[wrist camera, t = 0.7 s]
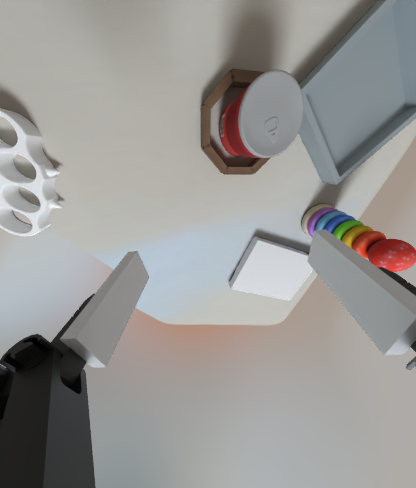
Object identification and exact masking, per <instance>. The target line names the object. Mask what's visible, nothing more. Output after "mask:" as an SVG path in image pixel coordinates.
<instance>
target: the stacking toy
mask: <svg viewBox="0 0 416 488" xmlns="http://www.w3.org/2000/svg"><path fill="white" fill-rule="evenodd" d="M301 226H302V230H303V232H304V233H305V234H307V235H309V236H311V237H313V234H314V231H316V230H325V229H326V230H327V231H329V232H330V233H331V234H333V235H334V236H335V237H337V238H338V239H339V240H341V241H342V242H343V243H345V244H346V245H348V246H349V247H350V248H352V249H353V250H354V251H356V252H357V253H358V254H360V255H361V256H362V257H364V258H368V259H369V261H370V262H371V263H372V264H373V265H375V266H376V267H383V268H385V269H387V270H389V271H392V272H397V271H403V270H406V269H408V268H410V267H411V266H412V265H413V264H414V263H415V262H416V250H415V248H414V247H413V246H411V245H410V244H409V243H407V242H404V241H402V240H397V239H386V237H385V235H384V234H383V233H381V232H378V231H373V230H372V229H371V228H370V227H368V226H364V225H363V223H361V222H360V221H357V220H355V219H354V218H353V217H352V216H349V215H347V214H346V213H344V212H341V211H338V210H337V209H335V208H333V207H332V206H330V205H328V204H319V205H316V206H314V207H312V208H311V209H310V210H309V211H308V212H307V213H306V214H305V215H304V217H303V219H302V224H301Z"/></svg>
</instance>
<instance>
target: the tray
mask: <svg viewBox="0 0 416 488" xmlns="http://www.w3.org/2000/svg"><path fill="white" fill-rule="evenodd" d="M299 86H300V88H301V91H302V94H303V101H304V112H303V119H302V123H301V127H300V129H299V135H300V137H301V139H302V141H303V143H304V145H305V147H306V149H307V151H308V153H309V155H310V157H311V159H312V161H313V163H314V165H315V168H316V170H317V172H318V174H319V176H320V178H321V180H322V182H324V183H329V184H334V185H337V184H338V183H340V182H341V181H342V180H343V179H344V178H345V177H347V176H348V175H349V174H350V173H351V172H353V171H354V170H355V169H356V168H357V167H359V166H360V165H361V164H362V163H363V162H365V161H366V160H367V159H368V158H369V157H370V156H372V155H373V154H374V153H375V152H376V151H378V150H379V149H380V148H381V147H382V146H384V145H385V144H386V143H387V142H388V141H390V140H391V139H392V138H393V137H394V136H395V135H397V134H398V133H399V132H400V131H401V130H403V129H404V128H405V127H406V126H407V125H409V124H410V123H411V122H412V121H413V120H414V119H416V0H378V1H377V2H376V3H375V4H374V5H373V6H372V7H371V8H370V9H369V10H368V11H367V12H366V14H365V15H364V16H363V17H362V18H361V19H360V20H359V21H358V22H357V23H356V24H355V25H354V26H353V27H352V28H351V30H350V31H349V32H348V33H347V34H346V35H345V36H344V37H343V38H342V39H341V40H340V41H339V42H338V43H337V45H336V46H335V47H334V48H333V49H332V50H331V51H330V52H329V53H328V54H327V55H326V56H325V57H324V58H323V59H322V61H321V62H320V63H319V64H318V65H317V66H316V67H315V68H314V69H313V70H312V71H311V72H310V73H309V74H308V76H307V77H306V78H305V79H304V80H303V81H302V82H301V83H300V84H299Z"/></svg>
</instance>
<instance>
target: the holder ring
mask: <svg viewBox="0 0 416 488" xmlns="http://www.w3.org/2000/svg"><path fill="white" fill-rule="evenodd" d="M264 73H265V72H257V71H247V70H238V69H232V70H231V71H230V70H229V72H228V73H227V74H226V75H225V77H224V78H223V79H222V80H221V82H220V83H219V84H218V85H217V87H216V88H215V89H214V90H213V92H212V93H211V94H210V95H209V97H208V98H207V99H206V100H205V102H204V103H203V105H202V108H201V147H202V148H203V149H202V150H203V152H204V153H205V154H206V155H207V156H208V158H209V159H210V160H211V161H212V162H213V163H214V165H215V166H216V167H217V168H218V169H219V171H220V172H221V173H223V174H253V173H254V174H255V173H256V172H257V171H258V170H259V169H260V168H261V167H262V166H263V165H264V164H265V163H266V162H267V161H268V160H269V159H270V158H271V157H269V158H256V159H255V160H254V161H253V162H252V163H251V164H250V165H249V166H226V164H225V163H224V162H223V161H222V159H221V158H220V157H219V156H218V154H217V153H216V152H215V151H214V149H213V148H212V147H211V145H210V117H211V108H212V107H213V106H214V104H215V103H216V102H217V101H218V100H219V98H220V97H221V96H222V95H223V94H224V92H225V91H226V90H227V89H228V87H229V86H233V87H244V88H247V87H248V86H249V85H250V84H251V83H252V82H253V81H254V80H255V79H256V78H257V77H259V76H260V75H262V74H264Z"/></svg>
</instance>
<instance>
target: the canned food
mask: <svg viewBox="0 0 416 488" xmlns="http://www.w3.org/2000/svg"><path fill="white" fill-rule="evenodd" d="M303 112H304V101H303V94H302V91H301V88H300V86H299V84H298V82H297V80H296V79H295V78H294V77H293V76H292V75H291V74H289V73H288V72H286V71H283V70H271V71H268V72H265V73H264V74H262V75H260V76H259V77H257V78H256V79H255V80H254V81H253V82H252V83H251V84H250V85H249V86H248V87H247V88H245V89H244V90H243V91H242V92H241V93H240V94H239V95H238V96H237V97H236V98H235V99H234V100H233V101H232V102H231V103H230V104H229V105H228V106H227V107H226V109H225V110H224V112H223V114H222V117H221V120H220V125H219V135H220V139H221V142H222V145H223V146H224V148H225V150H226V151H227V152H228V153H230V154H231V155H233V156H236V157H249V158H269V157H274V156H276V155H279V154H280V153H282V152H284V151H285V150H286V149H287V148H288V147H289V146H290V145H291V144H292V142H293V141H294V139H295V138H296V136H297V134H298V132H299V129H300V127H301V123H302V119H303Z"/></svg>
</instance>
